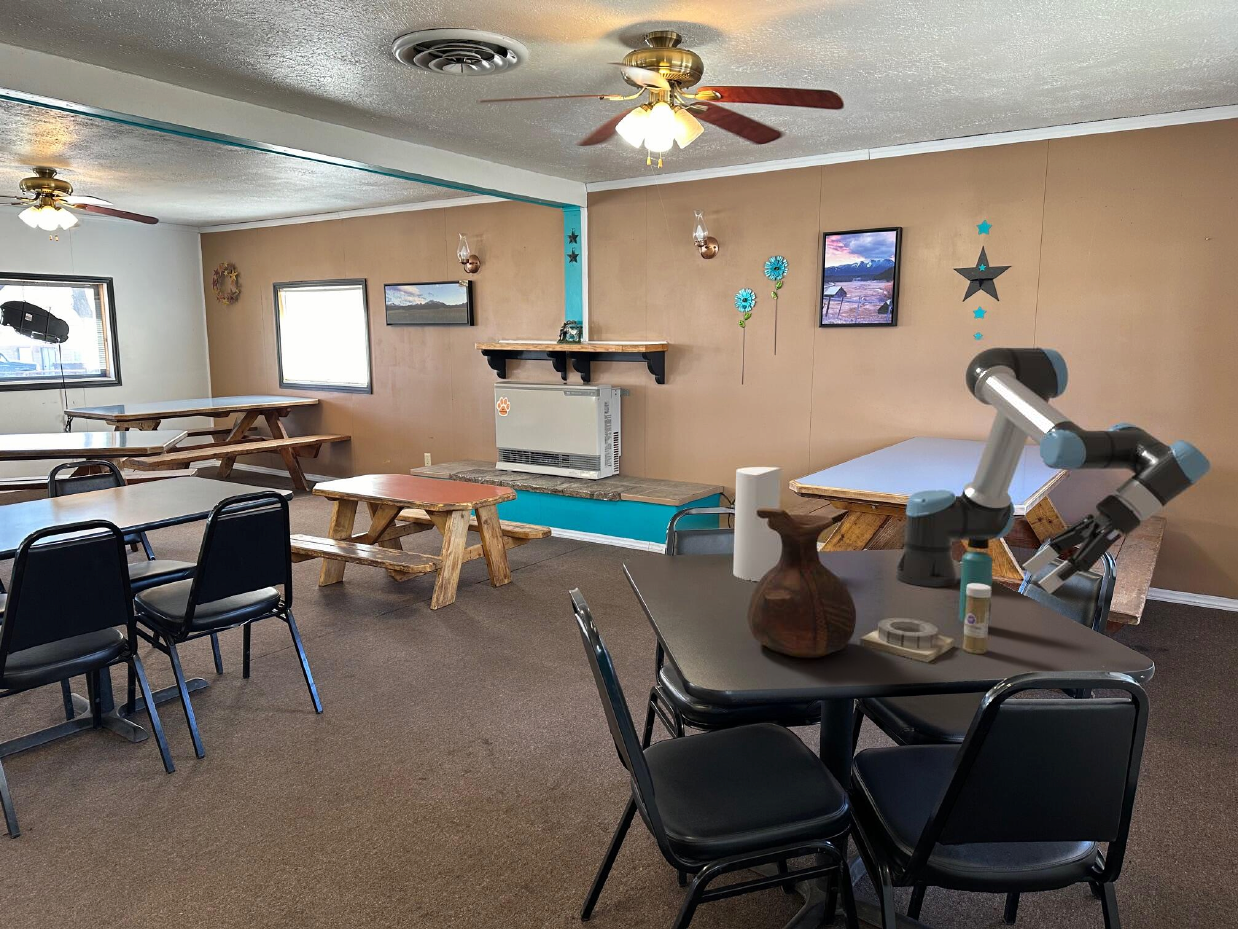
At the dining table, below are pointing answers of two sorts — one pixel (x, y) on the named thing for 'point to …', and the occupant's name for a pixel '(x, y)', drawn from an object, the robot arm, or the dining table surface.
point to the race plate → (909, 651)
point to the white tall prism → (755, 522)
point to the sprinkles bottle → (976, 618)
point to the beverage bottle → (974, 570)
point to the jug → (800, 593)
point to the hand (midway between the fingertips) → (1035, 579)
